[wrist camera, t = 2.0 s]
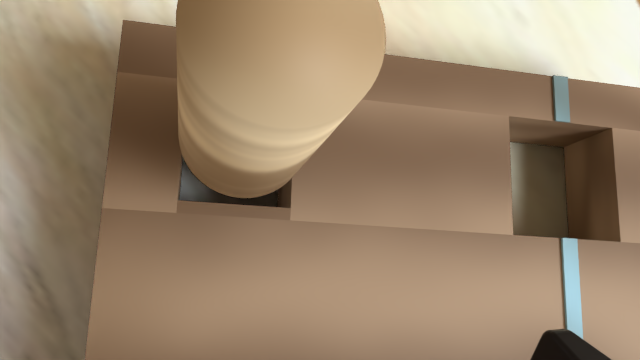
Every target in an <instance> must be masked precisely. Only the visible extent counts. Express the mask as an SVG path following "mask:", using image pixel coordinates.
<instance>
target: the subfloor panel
mask: <svg viewBox="0 0 640 360" xmlns="http://www.w3.org/2000/svg"><path fill="white" fill-rule="evenodd" d="M510 142H516V143H526V144H536V145H545V146H555V147H564V160H565V178H566V196H567V213H568V231H569V238H552V237H537V236H522V235H513V216H512V188H511V161H510ZM182 161H183V155H182V153H181V149H180V145H179V137H178V91H177V43H176V27H173V26H165V25H158V24H150V23H143V22H135V21H127V20H123V25H122V34H121V43H120V52H119V60H118V69H117V78H116V87H115V96H114V105H113V114H112V122H111V131H110V140H109V149H108V158H107V167H106V175H105V184H104V193H103V202H102V211H101V220H100V229H99V237H98V246H97V255H96V264H95V273H94V282H93V291H92V299H91V308H90V317H89V326H88V335H87V344H86V352H85V360H530V359H531V357H532V355H533V353H534V350H535V348H536V346H537V344H538V342H539V340H540V338H541V336H542V334H543V333H544V332H545V331H547V330H555V329H567V330H570V331H572V332H573V333H575V334H576V335H578V336H579V337H581V338H582V339H583V340H585V341H586V342H588V343H589V344H590V345H592V346H593V347H595V348H596V349H598V350H599V351H600V352H602V353H603V354H605V355H606V356H607V357H609V358H610V359H612V360H640V88H637V87H630V86H622V85H614V84H607V83H599V82H591V81H584V80H576V79H569V78H568V77H562V76H555V75H554V76H546V75H538V74H531V73H523V72H515V71H508V70H500V69H493V68H485V67H477V66H470V65H462V64H455V63H447V62H439V61H432V60H424V59H417V58H409V57H401V56H394V55H386V54H384V59H383V63H382V66H381V69H380V71H379V74H378V76H377V78H376V80H375V82H374V84H373V86H372V87H371V88H370V90H369V91H368V92H367V94H366V95H365V96H364V97H363V99H362V100H361V101H360V102H359V103H358V104H357V105H356V106H355V108H354V109H353V110H352V111H351V112H350V113H349V114H348V115H347V117H346V118H345V119H344V120H343V121H342V122H341V123H340V124H339V126H338V127H337V128H336V129H335V130H334V131H333V132H332V133H331V135H330V136H329V137H328V138H327V139H326V140H325V141H324V142H323V144H322V145H321V146H320V147H319V148H318V149H317V150H316V151H315V153H314V154H313V155H312V156H311V157H310V158H309V159H308V160H307V162H306V163H305V164H304V165H303V166H302V167H301V168H300V169H299V171H298V172H297V173H296V174H295V175H294V176H293V177H292V178H291V179H290V180H289V181H288V182H287V183H286V184H285V185H283V186H282V187H281V188H279V189H278V201H277V207H267V206H252V205H238V204H224V203H209V202H195V201H181V200H179V196H180V184H181V172H182Z"/></svg>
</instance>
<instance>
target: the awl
mask: <svg viewBox="0 0 640 360" xmlns="http://www.w3.org/2000/svg"><path fill="white" fill-rule="evenodd" d="M176 43H177V91H178V137H179V145H180V149H181V153H182V155H183V158H184V160H185V162H186V164H187V166H188V167H189V169H190V170H191V172H192V173H193V174H194V175H195V176H196V177H197V178H198V179H199V180H200V181H201V182H202V183H203V184H205V185H206V186H207V187H209V188H211V189H212V190H214V191H216V192H219V193H221V194H223V195H227V196H231V197H237V198H253V197H259V196H263V195H267V194H269V193H272V192H274V191H276V190H277V189H279V188H281V187H282V186H283V185H285V184H286V183H287V182H288V181H289V180H290V179H291V178H292V177H293V176H294V175H295V174H296V173H297V172H298V171H299V169H300V168H301V167H302V166H303V165H304V164H305V163H306V162H307V160H308V159H309V158H310V157H311V156H312V155H313V154H314V153H315V151H316V150H317V149H318V148H319V147H320V146H321V145H322V144H323V142H324V141H325V140H326V139H327V138H328V137H329V136H330V135H331V133H332V132H333V131H334V130H335V129H336V128H337V127H338V126H339V124H340V123H341V122H342V121H343V120H344V119H345V118H346V117H347V115H348V114H349V113H350V112H351V111H352V110H353V109H354V108H355V106H356V105H357V104H358V103H359V102H360V101H361V100H362V99H363V97H364V96H365V95H366V94H367V92H368V91H369V90H370V88H371V87H372V86H373V84H374V82H375V80H376V78H377V76H378V74H379V71H380V69H381V66H382V63H383V59H384V54H385V45H386V32H385V24H384V18H383V14H382V11H381V8H380V4H379V2H378V0H178V4H177V10H176Z"/></svg>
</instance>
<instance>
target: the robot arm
mask: <svg viewBox="0 0 640 360" xmlns="http://www.w3.org/2000/svg"><path fill="white" fill-rule="evenodd" d="M530 360H612V359H610V358H609V357H607V356H606V355H605V354H603V353H602V352H600V351H599V350H598V349H596V348H595V347H593V346H592V345H590V344H589V343H588V342H586V341H585V340H583V339H582V338H581V337H579V336H578V335H576V334H575V333H573V332H572V331H570V330H567V329H555V330H547V331H545V332H544V333H543V334H542V336H541V338H540V340H539V342H538V344H537V346H536V348H535V350H534V353H533V355H532V357H531V359H530Z"/></svg>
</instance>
